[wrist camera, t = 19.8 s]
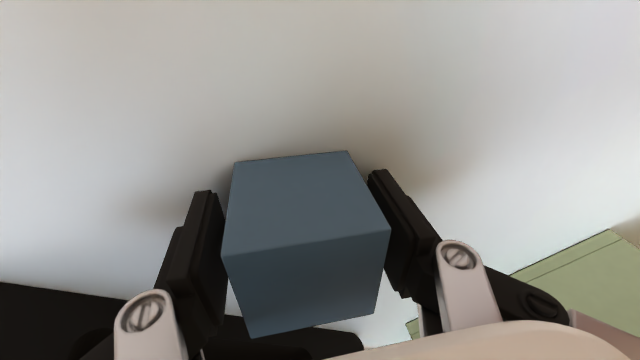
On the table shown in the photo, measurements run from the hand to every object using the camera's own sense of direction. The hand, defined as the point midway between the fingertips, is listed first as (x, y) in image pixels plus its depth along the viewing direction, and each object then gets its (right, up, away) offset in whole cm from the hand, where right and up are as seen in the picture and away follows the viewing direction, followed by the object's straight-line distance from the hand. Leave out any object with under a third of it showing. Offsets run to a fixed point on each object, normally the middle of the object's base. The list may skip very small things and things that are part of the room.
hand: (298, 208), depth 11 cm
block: (0, 0, 0) cm, 1 cm away
